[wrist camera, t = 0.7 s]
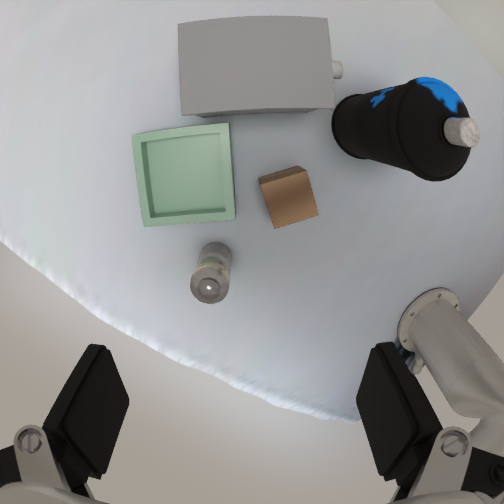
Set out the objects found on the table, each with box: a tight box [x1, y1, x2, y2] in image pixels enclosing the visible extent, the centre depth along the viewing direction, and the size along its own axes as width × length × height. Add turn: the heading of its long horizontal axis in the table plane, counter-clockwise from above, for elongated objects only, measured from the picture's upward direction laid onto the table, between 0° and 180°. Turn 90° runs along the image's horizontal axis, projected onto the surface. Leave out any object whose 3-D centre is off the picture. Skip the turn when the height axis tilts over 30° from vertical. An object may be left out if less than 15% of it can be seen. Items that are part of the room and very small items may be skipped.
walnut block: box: [259, 166, 319, 229], centre depth 33 cm, size 5×5×5 cm
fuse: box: [190, 242, 231, 304], centre depth 35 cm, size 4×4×9 cm
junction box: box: [178, 16, 343, 118], centre depth 25 cm, size 9×14×11 cm, turn 93°
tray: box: [132, 123, 236, 227], centre depth 33 cm, size 11×11×2 cm
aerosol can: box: [332, 77, 479, 181], centre depth 23 cm, size 8×8×20 cm
